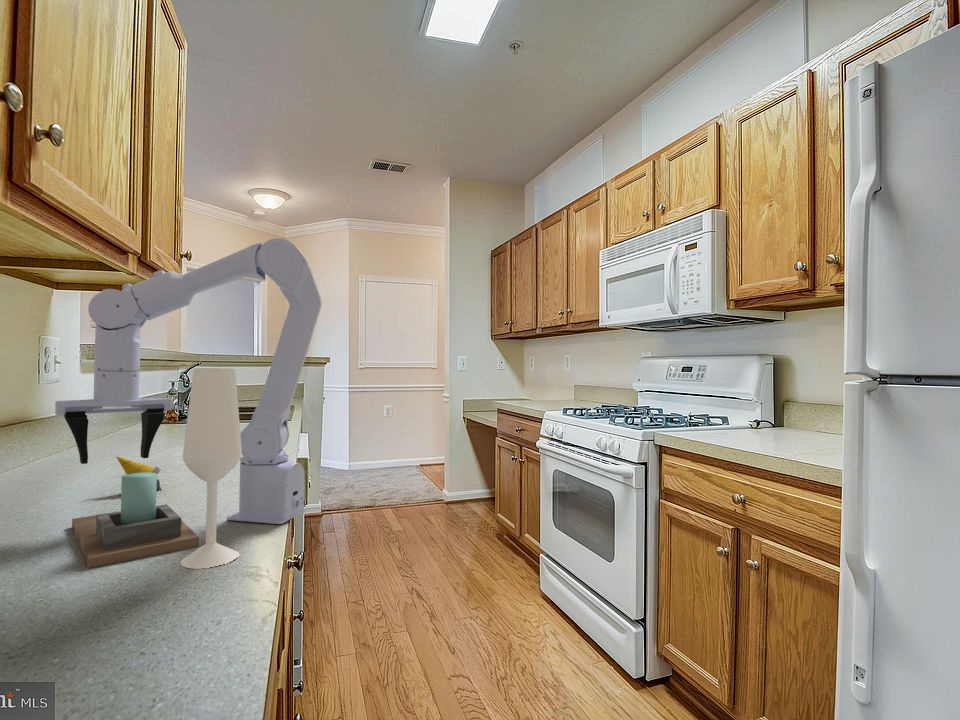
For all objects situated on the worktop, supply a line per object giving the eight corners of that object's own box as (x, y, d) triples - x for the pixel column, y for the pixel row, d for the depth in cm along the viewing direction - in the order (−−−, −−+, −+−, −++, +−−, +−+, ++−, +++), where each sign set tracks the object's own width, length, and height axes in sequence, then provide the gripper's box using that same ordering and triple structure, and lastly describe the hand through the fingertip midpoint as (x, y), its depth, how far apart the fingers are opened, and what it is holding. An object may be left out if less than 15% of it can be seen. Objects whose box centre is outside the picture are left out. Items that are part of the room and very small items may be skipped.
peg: (162, 531, 73) (163, 473, 73) (139, 540, 69) (140, 479, 69) (137, 529, 74) (138, 471, 74) (112, 538, 70) (114, 477, 70)
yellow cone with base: (157, 497, 96) (110, 463, 93) (146, 505, 99) (99, 471, 96) (177, 475, 101) (132, 441, 97) (166, 483, 104) (122, 450, 100)
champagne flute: (172, 570, 63) (176, 368, 63) (189, 550, 69) (193, 367, 69) (233, 566, 64) (237, 369, 64) (244, 547, 71) (248, 368, 71)
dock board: (199, 546, 71) (199, 518, 71) (88, 568, 63) (89, 537, 63) (164, 512, 86) (165, 489, 86) (72, 526, 78) (72, 501, 78)
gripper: (165, 370, 88) (163, 451, 88) (54, 369, 78) (52, 461, 78) (175, 371, 83) (173, 457, 83) (58, 371, 73) (55, 468, 73)
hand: (115, 460), depth 80 cm, fingers open, 7 cm apart
